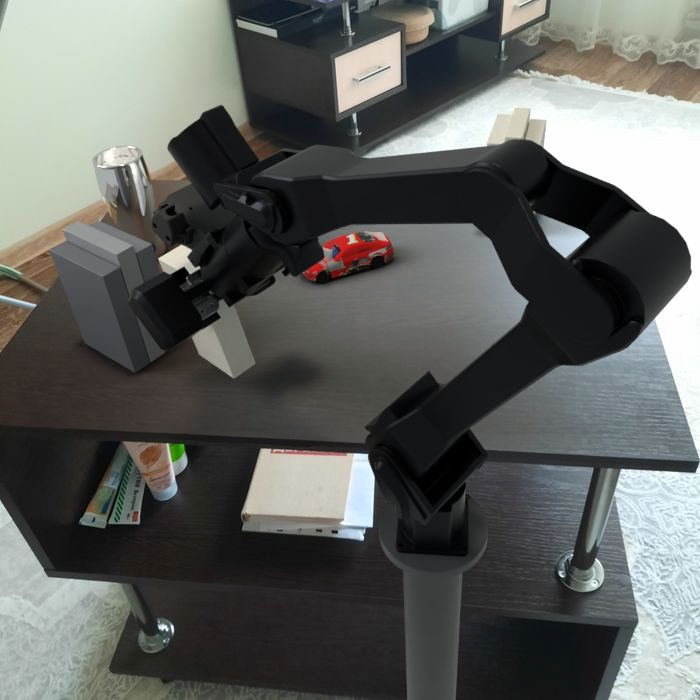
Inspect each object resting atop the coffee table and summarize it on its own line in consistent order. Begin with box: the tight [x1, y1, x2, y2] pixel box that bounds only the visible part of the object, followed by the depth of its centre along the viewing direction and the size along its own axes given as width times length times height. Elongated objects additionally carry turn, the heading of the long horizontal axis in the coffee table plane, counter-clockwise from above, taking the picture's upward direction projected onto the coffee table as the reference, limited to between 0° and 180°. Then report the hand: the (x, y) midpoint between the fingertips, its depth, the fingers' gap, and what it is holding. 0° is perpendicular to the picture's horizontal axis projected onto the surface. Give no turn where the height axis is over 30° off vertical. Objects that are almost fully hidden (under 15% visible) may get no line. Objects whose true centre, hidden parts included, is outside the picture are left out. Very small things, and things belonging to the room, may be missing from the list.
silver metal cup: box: [92, 145, 167, 260], centre depth 101 cm, size 7×7×15 cm
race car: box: [300, 230, 395, 284], centre depth 98 cm, size 13×5×4 cm, turn 111°
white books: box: [486, 107, 547, 215], centre depth 102 cm, size 10×7×14 cm
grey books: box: [49, 219, 168, 374], centre depth 85 cm, size 10×7×15 cm
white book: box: [157, 244, 257, 380], centre depth 76 cm, size 7×3×13 cm, turn 43°
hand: (199, 304), depth 77 cm, fingers closed on white book, 3 cm apart
